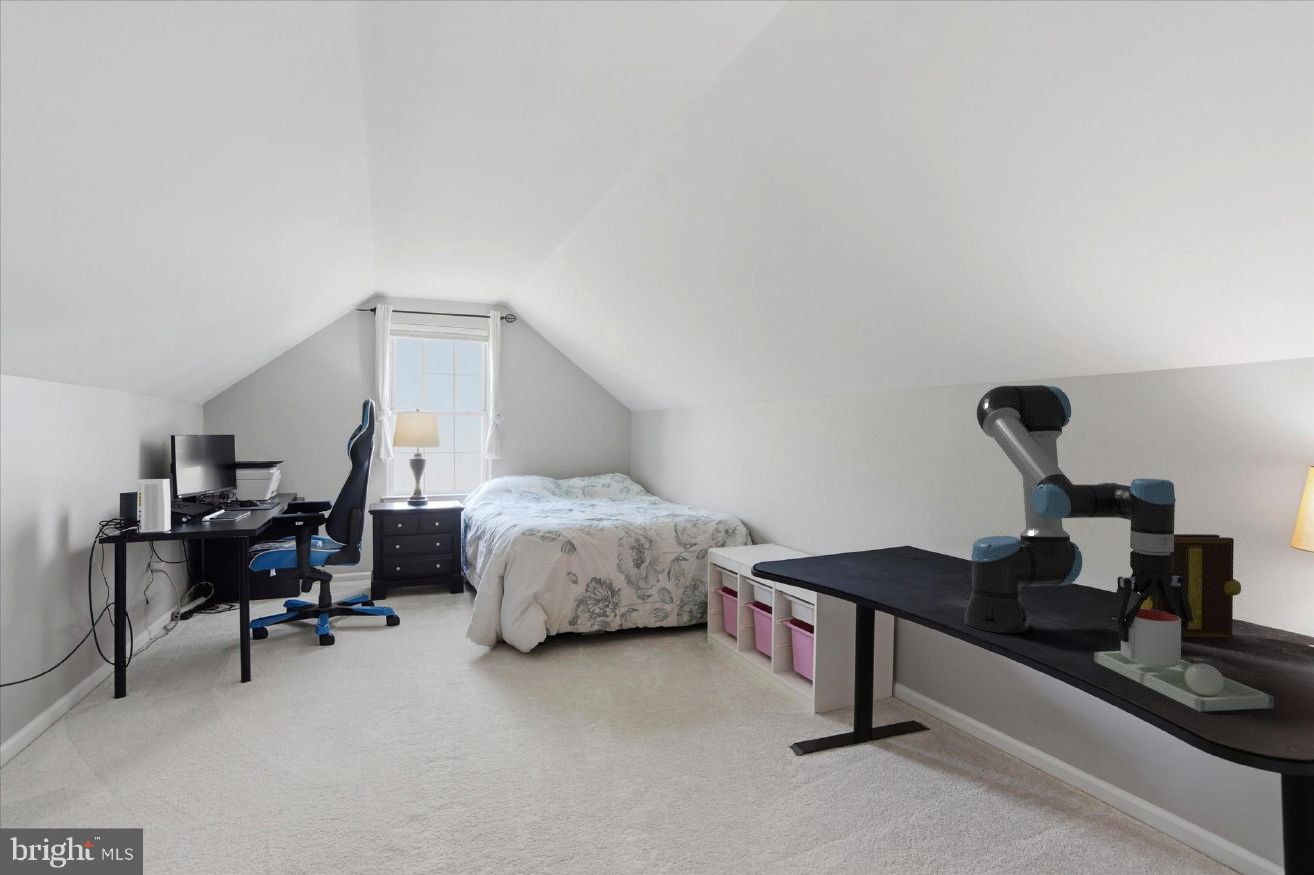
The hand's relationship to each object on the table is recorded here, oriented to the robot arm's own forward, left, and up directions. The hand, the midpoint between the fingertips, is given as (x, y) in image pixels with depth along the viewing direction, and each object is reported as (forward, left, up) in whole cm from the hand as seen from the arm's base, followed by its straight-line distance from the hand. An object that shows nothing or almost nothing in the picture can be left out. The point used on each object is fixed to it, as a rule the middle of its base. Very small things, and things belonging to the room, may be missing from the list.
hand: (1150, 655), depth 143 cm
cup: (0, 0, -1) cm, 1 cm away
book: (-26, +34, -5) cm, 43 cm away
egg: (+12, 0, -3) cm, 13 cm away
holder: (+6, 0, -5) cm, 8 cm away
